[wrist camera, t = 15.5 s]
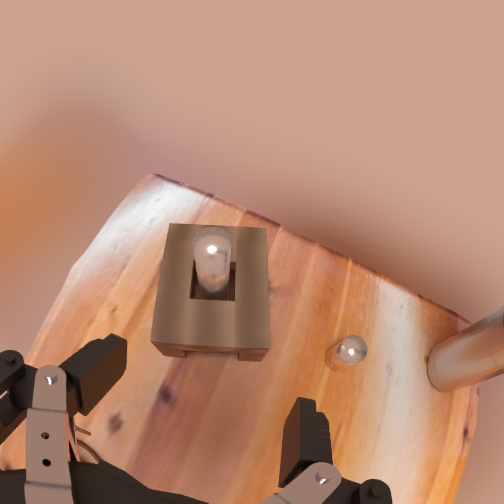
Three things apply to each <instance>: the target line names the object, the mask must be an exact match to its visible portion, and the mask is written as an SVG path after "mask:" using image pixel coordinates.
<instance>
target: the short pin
mask: <svg viewBox="0 0 504 504" xmlns="http://www.w3.org/2000/svg"><path fill="white" fill-rule="evenodd" d="M366 354H367V346H366V343H365V341H364V340H363V339H362V338H361V337H359V336H355V335H352V336H349V337H347V338H346V339H344V340H343V341H341V342H340V343H338V344H337V345H336V346H334V347H333V348H331V349H330V350H329V351H328V352H327V354H326V357H325V360H326V364H327V366H328V367H329V368H330V369H332V370H334V371H340V370H343V369H345V368H347V367H349V366H352V365H354V364H356V363H358V362H360V361H362V360H363V359H364V358H365V356H366Z"/></svg>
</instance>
